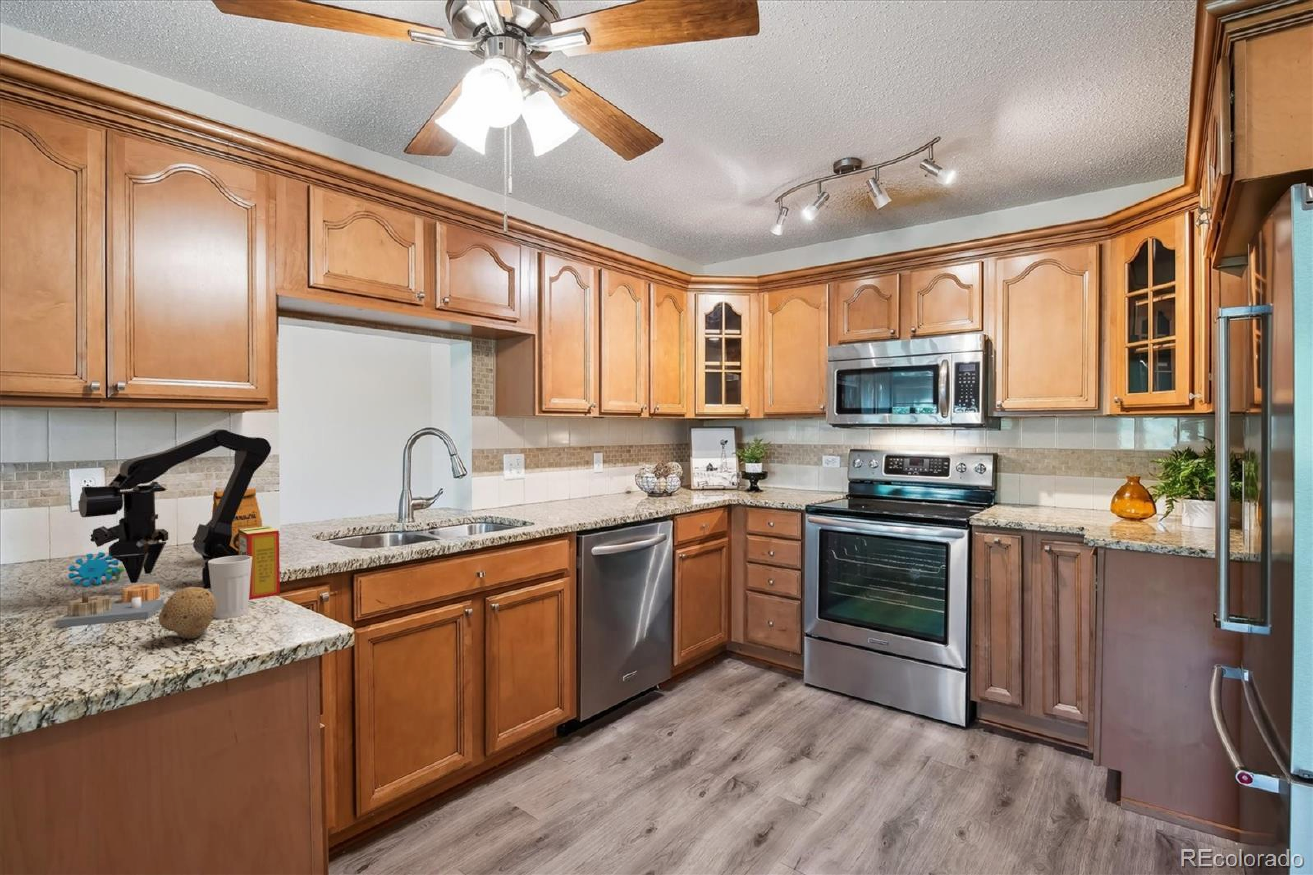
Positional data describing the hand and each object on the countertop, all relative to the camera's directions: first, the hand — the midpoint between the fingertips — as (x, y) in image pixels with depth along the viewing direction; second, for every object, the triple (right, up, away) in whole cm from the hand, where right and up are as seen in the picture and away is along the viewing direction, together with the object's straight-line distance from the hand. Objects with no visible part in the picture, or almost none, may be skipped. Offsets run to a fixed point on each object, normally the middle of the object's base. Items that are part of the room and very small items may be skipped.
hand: (141, 578), depth 148 cm
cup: (+28, -6, -11) cm, 31 cm away
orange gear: (0, -5, 0) cm, 5 cm away
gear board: (+4, -6, -12) cm, 14 cm away
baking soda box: (+24, -5, +6) cm, 25 cm away
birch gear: (0, -4, -14) cm, 15 cm away
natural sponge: (+31, -6, -26) cm, 41 cm away
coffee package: (-2, -4, +37) cm, 38 cm away
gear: (-24, -5, +15) cm, 29 cm away
